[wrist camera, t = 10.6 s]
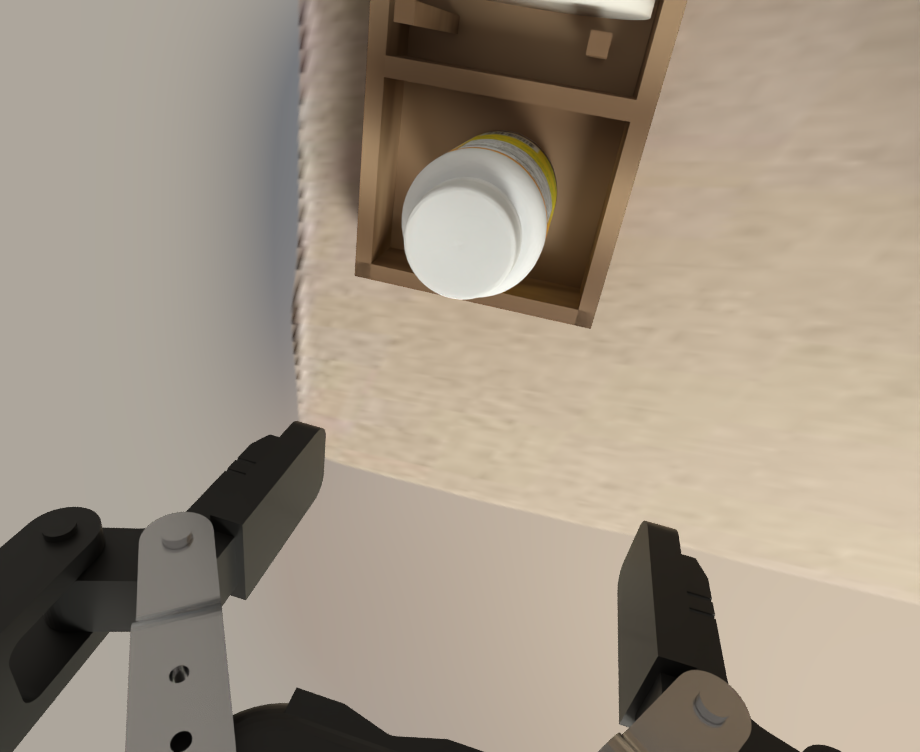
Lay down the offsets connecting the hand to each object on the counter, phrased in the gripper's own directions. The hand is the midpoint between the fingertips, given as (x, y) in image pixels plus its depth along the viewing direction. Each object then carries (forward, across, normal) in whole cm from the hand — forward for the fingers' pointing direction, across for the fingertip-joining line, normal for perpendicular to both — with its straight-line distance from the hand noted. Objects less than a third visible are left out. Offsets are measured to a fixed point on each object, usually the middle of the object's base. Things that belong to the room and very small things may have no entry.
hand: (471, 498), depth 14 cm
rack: (+19, +3, -8) cm, 21 cm away
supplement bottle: (+18, +3, -4) cm, 19 cm away
